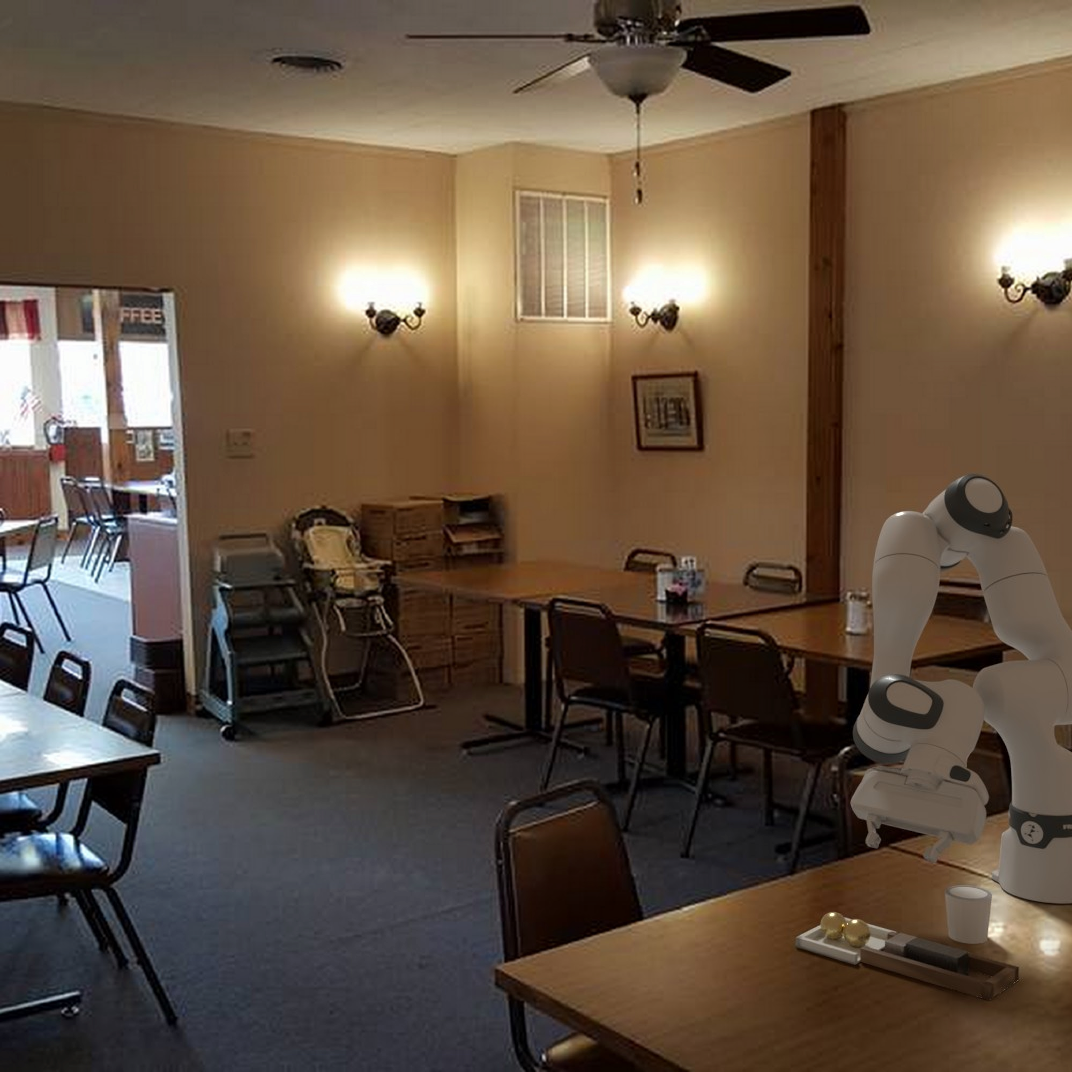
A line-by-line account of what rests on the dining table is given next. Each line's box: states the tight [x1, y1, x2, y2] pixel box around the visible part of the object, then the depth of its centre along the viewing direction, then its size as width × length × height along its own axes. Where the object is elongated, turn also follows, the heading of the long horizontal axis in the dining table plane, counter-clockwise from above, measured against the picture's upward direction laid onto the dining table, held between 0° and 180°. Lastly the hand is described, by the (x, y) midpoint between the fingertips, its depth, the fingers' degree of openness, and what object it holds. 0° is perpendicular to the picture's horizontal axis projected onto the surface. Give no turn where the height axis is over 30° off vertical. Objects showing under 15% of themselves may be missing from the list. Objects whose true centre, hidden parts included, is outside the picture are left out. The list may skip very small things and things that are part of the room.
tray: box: [795, 916, 898, 966], centre depth 197 cm, size 12×10×2 cm
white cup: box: [944, 884, 993, 945], centre depth 199 cm, size 7×7×7 cm
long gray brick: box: [884, 932, 970, 976], centre depth 188 cm, size 4×4×11 cm
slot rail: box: [859, 930, 1020, 1001], centre depth 187 cm, size 9×20×2 cm, turn 46°
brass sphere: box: [843, 918, 871, 947], centre depth 196 cm, size 4×4×4 cm
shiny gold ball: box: [820, 911, 847, 940], centre depth 199 cm, size 4×4×4 cm
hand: (899, 852), depth 197 cm, fingers open, 8 cm apart
